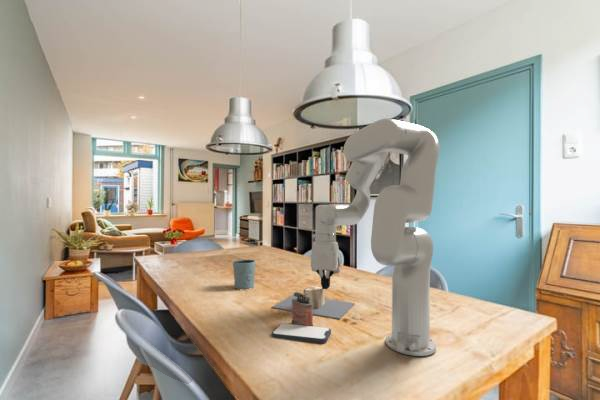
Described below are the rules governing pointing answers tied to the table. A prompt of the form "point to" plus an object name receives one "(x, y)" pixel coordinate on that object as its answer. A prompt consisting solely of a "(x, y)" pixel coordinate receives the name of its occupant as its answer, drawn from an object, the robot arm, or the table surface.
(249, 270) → the teal cup
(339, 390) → the table surface
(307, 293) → the maple cube
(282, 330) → the phone case
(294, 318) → the lighter
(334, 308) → the rubber mat
